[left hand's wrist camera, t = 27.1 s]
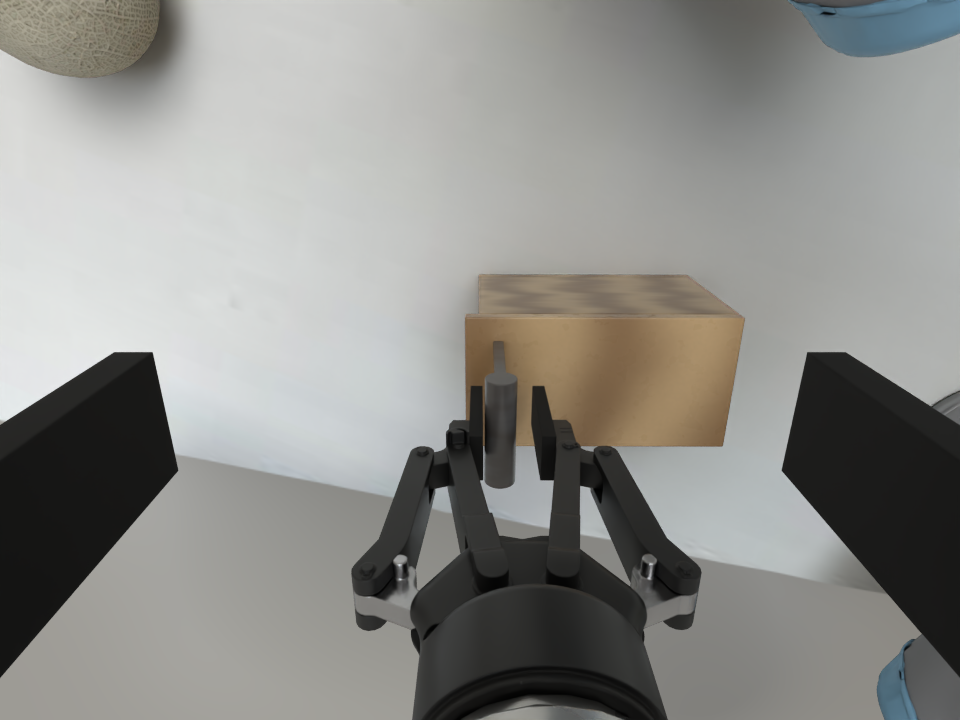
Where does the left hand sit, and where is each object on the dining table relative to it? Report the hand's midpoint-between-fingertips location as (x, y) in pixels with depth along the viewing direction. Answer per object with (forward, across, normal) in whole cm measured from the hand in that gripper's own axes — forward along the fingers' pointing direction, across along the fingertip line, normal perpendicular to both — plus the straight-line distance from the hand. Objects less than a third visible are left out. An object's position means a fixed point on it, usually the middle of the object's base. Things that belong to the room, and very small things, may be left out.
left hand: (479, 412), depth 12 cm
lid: (+27, +8, -11) cm, 31 cm away
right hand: (+23, +2, -11) cm, 26 cm away
